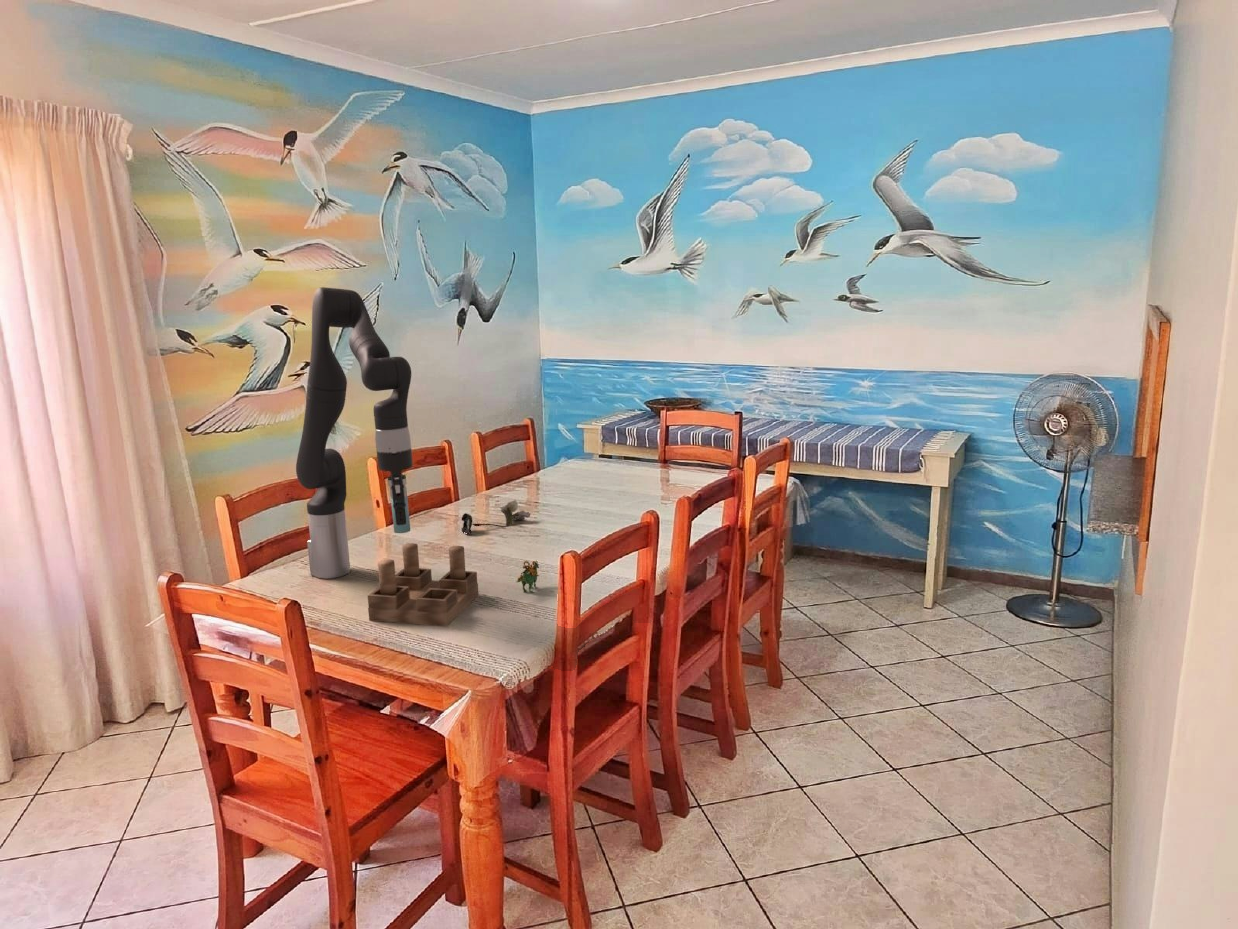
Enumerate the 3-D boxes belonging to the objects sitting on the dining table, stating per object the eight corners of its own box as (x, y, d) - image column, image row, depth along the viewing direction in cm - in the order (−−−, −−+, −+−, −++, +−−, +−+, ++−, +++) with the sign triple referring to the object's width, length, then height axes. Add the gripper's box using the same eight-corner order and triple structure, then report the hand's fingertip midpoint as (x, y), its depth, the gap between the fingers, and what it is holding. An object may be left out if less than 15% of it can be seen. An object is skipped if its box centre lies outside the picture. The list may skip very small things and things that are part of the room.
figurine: (544, 584, 207) (543, 553, 205) (523, 601, 196) (521, 569, 194) (533, 582, 208) (532, 552, 206) (511, 599, 197) (510, 567, 195)
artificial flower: (457, 535, 253) (455, 503, 254) (523, 531, 265) (521, 500, 266) (468, 534, 245) (466, 501, 246) (535, 530, 257) (533, 498, 258)
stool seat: (369, 620, 186) (364, 566, 183) (407, 590, 204) (403, 540, 201) (446, 626, 182) (443, 571, 179) (478, 594, 200) (475, 544, 198)
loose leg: (394, 534, 183) (389, 490, 181) (394, 529, 187) (389, 487, 185) (410, 532, 184) (406, 489, 182) (410, 528, 188) (406, 485, 186)
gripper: (376, 443, 187) (384, 516, 191) (375, 454, 174) (384, 532, 177) (410, 441, 189) (417, 512, 193) (412, 451, 176) (419, 528, 179)
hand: (401, 521), depth 185 cm, fingers closed on loose leg, 3 cm apart
